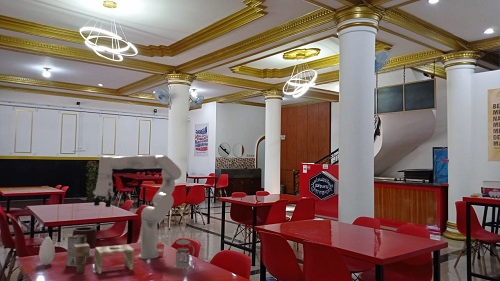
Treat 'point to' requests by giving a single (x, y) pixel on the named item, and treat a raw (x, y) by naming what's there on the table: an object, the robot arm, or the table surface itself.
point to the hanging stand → (108, 249)
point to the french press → (183, 254)
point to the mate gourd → (90, 235)
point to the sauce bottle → (47, 251)
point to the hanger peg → (81, 255)
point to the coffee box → (71, 242)
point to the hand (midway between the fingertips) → (102, 206)
